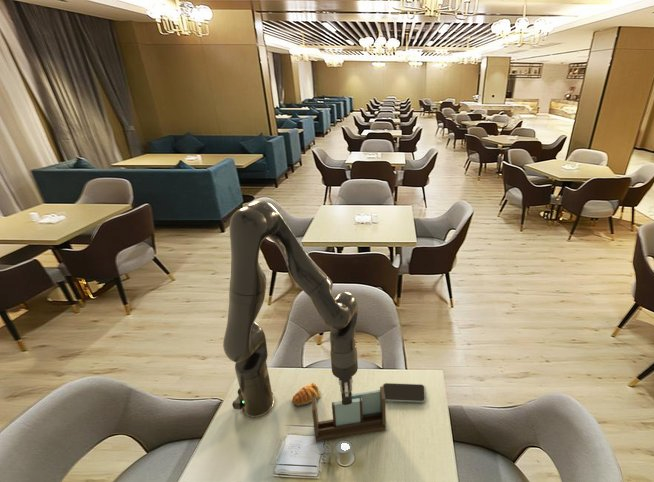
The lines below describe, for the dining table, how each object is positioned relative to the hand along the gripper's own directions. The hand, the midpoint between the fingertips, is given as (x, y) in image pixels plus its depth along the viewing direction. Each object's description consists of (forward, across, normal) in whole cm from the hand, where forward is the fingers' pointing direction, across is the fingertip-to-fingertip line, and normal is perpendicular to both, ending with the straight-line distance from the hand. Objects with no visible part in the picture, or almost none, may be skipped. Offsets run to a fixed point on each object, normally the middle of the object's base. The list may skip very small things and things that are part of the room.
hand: (346, 400), depth 108 cm
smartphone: (+13, -10, +20) cm, 26 cm away
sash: (+11, 0, 0) cm, 11 cm away
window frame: (+13, 0, +1) cm, 13 cm away
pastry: (+13, -15, -13) cm, 23 cm away
